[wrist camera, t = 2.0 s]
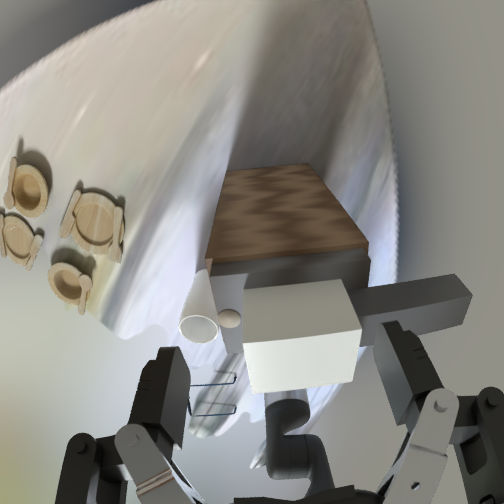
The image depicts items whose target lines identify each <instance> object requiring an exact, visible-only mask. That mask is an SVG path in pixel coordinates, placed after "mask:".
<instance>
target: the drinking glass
mask: <svg viewBox="0 0 504 504" xmlns="http://www.w3.org/2000/svg"><path fill="white" fill-rule="evenodd" d="M219 327H220V324H219V322H218V316H217V312H216V307H215V303H214V299H213V294H212V290H211V285H210V281H209V276H208V272H207V269H202V270H200V271H198V272H197V273H196V275H195V277H194V280H193V283H192V286H191V288H190V291H189V293H188V296H187V298H186V301H185V303H184V306H183V309H182V312H181V316H180V322H179V331H180V333H181V334H182V336H183V337H184V338H186V339H187V340H189V341H191V342H194V343H200V344H203V343H208V342H211V341H213V340H214V339H215V338H216V337H217V336H218V333H219Z"/></svg>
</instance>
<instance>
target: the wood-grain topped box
mask: <svg viewBox="0 0 504 504" xmlns="http://www.w3.org/2000/svg"><path fill="white" fill-rule="evenodd" d="M368 246H369V242H368V240H367V239H366V238H365V236H364V235H363V234H362V232H361V231H360V229H359V228H358V227H357V225H356V224H355V223H354V221H353V220H352V219H351V217H350V216H349V215H348V213H347V212H346V211H345V209H344V208H343V207H342V205H341V204H340V203H339V201H338V200H337V199H336V198H335V196H334V195H333V194H332V193H331V191H330V190H329V189H328V187H327V186H326V185H325V184H324V182H323V181H322V180H321V179H320V178H319V176H318V175H317V174H316V173H315V171H314V170H313V169H312V168H311V167H310V165H309V164H296V165H284V166H273V167H263V168H253V169H244V170H235V171H227V172H226V174H225V178H224V182H223V185H222V189H221V193H220V197H219V201H218V205H217V209H216V214H215V218H214V222H213V226H212V230H211V234H210V239H209V243H208V247H207V252H206V256H205V263H206V267H207V272H208V276H209V281H210V285H211V290H212V294H213V299H214V303H215V307H216V312H217V316H218V322H219V324H220V329H221V333H222V337H223V341H224V343H225V347H226V351H227V354H228V353H242V352H244V348H243V289H253V288H263V287H273V286H283V285H292V284H301V283H310V282H319V281H327V280H336V279H341V280H342V282H343V285H344V287H345V289H346V290H352V289H360V288H367V287H368V281H369V272H370V263H371V259H370V258H369V256H368Z"/></svg>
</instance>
